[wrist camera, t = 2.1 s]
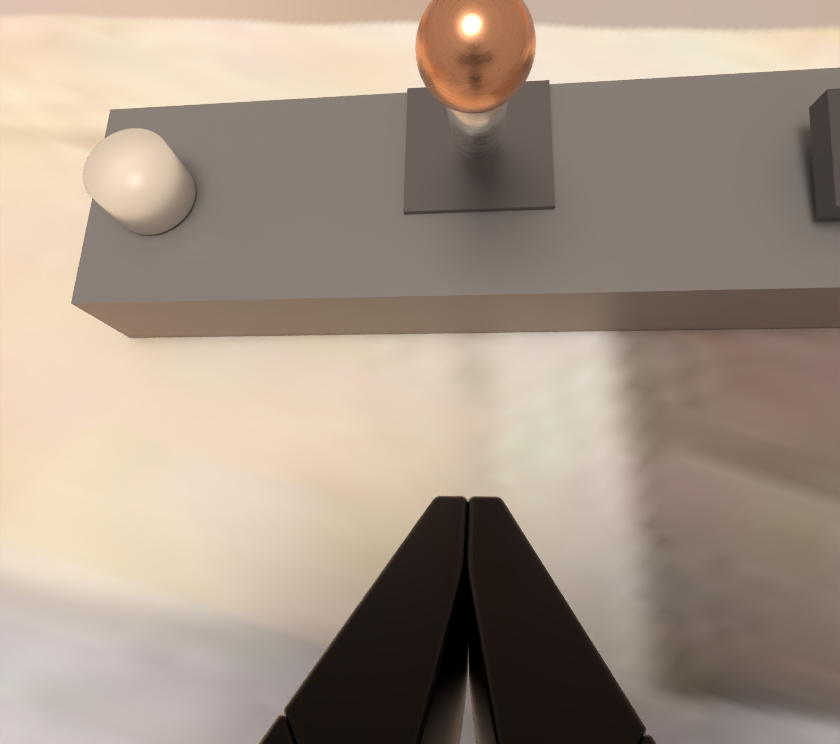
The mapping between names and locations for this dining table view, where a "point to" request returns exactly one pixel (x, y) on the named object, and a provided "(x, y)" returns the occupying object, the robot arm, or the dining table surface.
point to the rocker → (826, 153)
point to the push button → (139, 181)
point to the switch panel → (482, 215)
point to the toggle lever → (475, 65)
